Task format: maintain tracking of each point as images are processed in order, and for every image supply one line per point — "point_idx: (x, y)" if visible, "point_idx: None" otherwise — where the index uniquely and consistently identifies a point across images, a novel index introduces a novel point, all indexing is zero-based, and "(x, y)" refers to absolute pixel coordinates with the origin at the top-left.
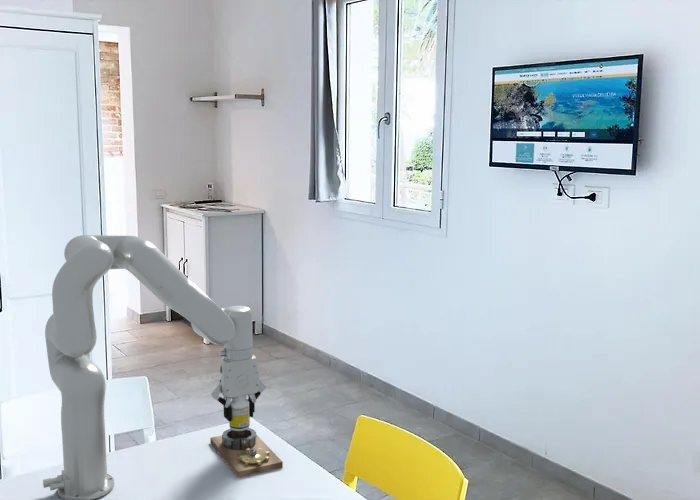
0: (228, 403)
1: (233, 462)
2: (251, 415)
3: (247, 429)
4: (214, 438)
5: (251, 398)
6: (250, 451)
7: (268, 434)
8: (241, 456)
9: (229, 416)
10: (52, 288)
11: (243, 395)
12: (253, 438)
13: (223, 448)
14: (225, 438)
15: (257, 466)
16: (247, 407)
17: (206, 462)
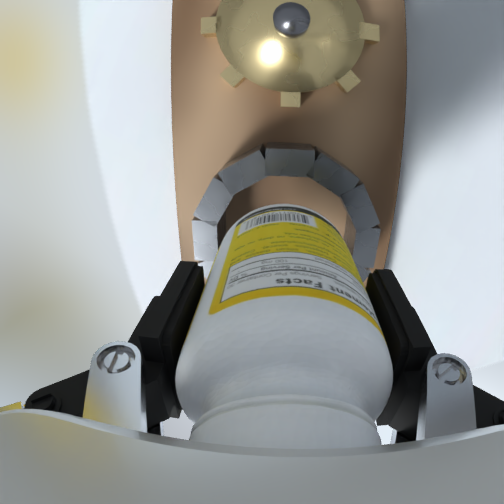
0: (443, 388)
1: (394, 44)
2: (193, 268)
3: None
4: None
5: (135, 388)
6: (309, 20)
7: (133, 272)
8: (356, 39)
9: (400, 289)
10: None
11: (272, 453)
12: (228, 165)
13: (377, 205)
14: (375, 229)
15: None
16: (221, 303)
17: (455, 163)
